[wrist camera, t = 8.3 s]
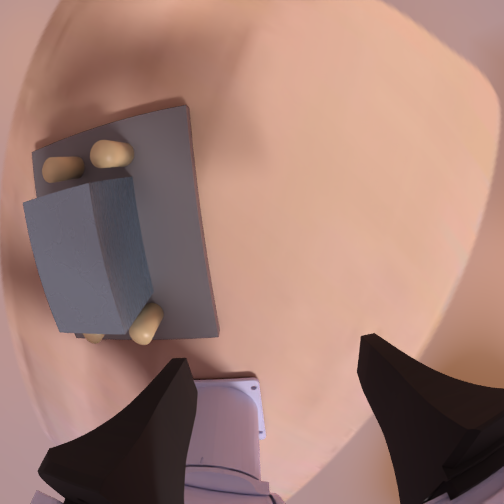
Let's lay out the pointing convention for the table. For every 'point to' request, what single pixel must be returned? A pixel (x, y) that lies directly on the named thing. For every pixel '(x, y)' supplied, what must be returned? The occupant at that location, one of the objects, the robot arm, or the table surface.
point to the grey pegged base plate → (148, 213)
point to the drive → (90, 256)
